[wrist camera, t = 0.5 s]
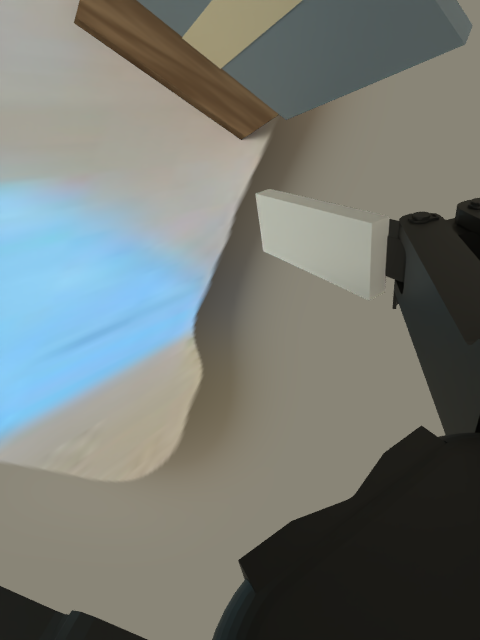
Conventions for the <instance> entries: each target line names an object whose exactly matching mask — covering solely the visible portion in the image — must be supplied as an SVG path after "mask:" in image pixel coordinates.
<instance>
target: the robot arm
mask: <svg viewBox="0 0 480 640" xmlns="http://www.w3.org/2000/svg"><path fill="white" fill-rule="evenodd" d="M256 201H257V208H258V215H259V222H260V230H261V237H262V245H263V251H264V252H266V253H269V254H271V255H273V256H275V257H277V258H279V259H281V260H283V261H286V262H288V263H290V264H292V265H294V266H296V267H298V268H301V269H303V270H305V271H307V272H309V273H311V274H313V275H316V276H318V277H320V278H322V279H324V280H326V281H328V282H331V283H333V284H335V285H337V286H339V287H341V288H344V289H346V290H348V291H350V292H352V293H354V294H356V295H358V296H361V297H363V298H365V299H367V300H371V299H373V298H375V297H377V296H379V295H381V294H383V293H385V283H386V282H385V281H386V276H388V277H390V278H393V279H395V284H394V297H393V309H396V305H397V304H399V305H400V308H401V311H402V314H403V316H404V320H405V322H406V325H407V328H408V331H409V334H410V336H411V339H412V342H413V345H414V348H415V350H416V353H417V356H418V359H419V362H420V364H421V367H422V370H423V373H424V376H425V378H426V381H427V384H428V386H429V390H430V392H431V395H432V398H433V400H434V404H435V406H436V409H437V412H438V415H439V418H440V420H441V423H442V426H443V429H444V431H445V434H446V435H445V436H440V437H437V436H435V435H434V434H433V433H431V432H430V431H428V430H427V429H426V428H424V427H423V426H420V427H419V428H417V429H416V430H415V431H413V432H412V433H411V434H409V435H408V436H407V437H406V438H404V439H403V440H401V441H400V442H398V443H397V444H396V445H394V446H393V447H392V448H390V449H389V450H388V451H386V452H385V453H384V454H383V455H382V457H381V458H380V459H379V461H378V462H377V464H376V465H375V467H374V468H373V470H372V471H371V472H370V474H369V475H368V477H367V478H366V479H365V481H364V482H363V484H362V485H361V487H360V488H359V489H358V491H357V492H356V494H355V495H354V496H353V497H351V498H350V499H348V500H346V501H343V502H341V503H338V504H335V505H333V506H330V507H327V508H325V509H322V510H319V511H317V512H314V513H312V514H309V515H307V516H304V517H301V518H298V519H296V520H293V521H291V522H290V523H289V524H287V525H286V526H284V527H283V528H282V529H280V530H279V531H277V532H276V533H275V534H273V535H272V536H271V537H269V538H268V539H267V540H265V541H264V542H262V543H261V544H260V545H259V546H257V547H256V548H254V549H253V550H252V551H250V552H249V553H247V554H246V555H245V556H243V557H242V558H241V559H239V564H240V567H241V569H242V572H243V576H244V578H245V580H244V582H243V583H242V585H241V586H240V587H239V588H238V590H237V591H236V592H235V594H234V595H233V597H232V599H231V601H230V602H229V604H228V606H227V607H226V609H225V611H224V613H223V615H222V617H221V619H220V622H219V624H218V626H217V628H216V630H215V633H214V636H213V639H212V640H480V198H475V199H472V200H467V201H464V202H461V203H459V204H458V205H457V210H456V217H455V218H453V219H449V220H445V219H444V218H443V217H441V216H440V215H438V214H436V213H428V212H416V213H414V214H408V215H405V216H402V217H401V218H400V219H399V221H396V220H392V219H389V218H390V217H389V216H387V215H383V214H378V213H374V212H370V211H365V210H360V209H356V208H352V207H347V206H342V205H339V204H334V203H330V202H325V201H320V200H316V199H312V198H307V197H303V196H299V195H294V194H290V193H285V192H281V191H276V190H272V189H268V190H265V191H262V192H259V193H256ZM0 640H147V639H145V638H142V637H140V636H138V635H136V634H133V633H131V632H129V631H126V630H124V629H121V628H119V627H117V626H115V625H112V624H110V623H108V622H105V621H103V620H101V619H98V618H96V617H93V616H91V615H88V614H85V613H83V612H79V611H71V613H70V614H69V615H67V614H63V613H60V612H58V611H55V610H53V609H51V608H48V607H46V606H44V605H42V604H39V603H37V602H35V601H33V600H30V599H28V598H26V597H24V596H21V595H19V594H17V593H15V592H12V591H10V590H8V589H6V588H3V587H1V586H0Z"/></svg>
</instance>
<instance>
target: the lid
mask: <svg viewBox="0 0 480 640" xmlns="http://www.w3.org/2000/svg"><path fill="white" fill-rule="evenodd" d="M137 1H138V2H139V3H141V4H142V5H143V6H144V7H146V8H147V9H148V10H149V11H151V12H152V13H153V14H154V15H155V16H157V17H158V18H159V19H160V20H162V21H163V22H164V23H165V24H167V25H168V26H169V27H170V28H172V29H173V30H174V31H175V32H177V33H178V34H179V35H180V36H182V39H184V40H185V41H186V42H187V43H189V44H190V45H191V46H192V47H194V48H195V49H196V50H197V51H199V52H200V53H201V54H202V55H204V56H205V57H206V58H207V59H209V60H210V61H211V62H212V63H214V64H215V65H216V66H217V67H219V68H220V69H221V68H222V69H223V70H224V71H225V72H227V73H228V74H229V75H230V76H232V77H233V78H234V79H235V80H237V81H238V82H239V83H240V84H242V85H243V86H244V87H245V88H247V89H248V90H249V91H250V92H252V93H253V94H254V95H255V96H257V97H258V98H259V99H260V100H262V101H263V102H264V103H265V104H267V105H268V106H269V107H270V108H272V109H273V110H274V111H275V112H277V113H278V114H279V115H280V116H282V117H283V118H284V119H285V120H287V119H289V118H292V117H294V116H296V115H299V114H302V113H304V112H306V111H308V110H311V109H313V108H316V107H318V106H320V105H323V104H325V103H327V102H330V101H332V100H335V99H337V98H339V97H342V96H344V95H346V94H349V93H351V92H353V91H356V90H358V89H361V88H363V87H365V86H368V85H370V84H373V83H375V82H377V81H380V80H382V79H384V78H387V77H389V76H391V75H394V74H396V73H399V72H401V71H403V70H406V69H408V68H410V67H413V66H415V65H417V64H419V63H422V62H425V61H427V60H429V59H432V58H434V57H436V56H439V55H441V54H444V53H446V52H448V51H451V50H453V49H455V48H458V47H460V46H463V45H465V43H466V41H467V39H468V36H469V33H470V31H471V28H472V24H471V22H470V21H469V19H468V18H467V16H466V14H465V13H464V11H463V10H462V8H461V7H460V5H459V3H458V2H457V0H137Z"/></svg>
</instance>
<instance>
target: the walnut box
mask: <svg viewBox="0 0 480 640" xmlns="http://www.w3.org/2000/svg"><path fill="white" fill-rule="evenodd" d="M74 23H75V24H76V25H78V26H79V27H81V28H82V29H84V30H85V31H86V32H88V33H89V34H91V35H92V36H94V37H95V38H96V39H98V40H99V41H101V42H102V43H104V44H105V45H106V46H108V47H109V48H111V49H112V50H114V51H115V52H116V53H118V54H119V55H121V56H122V57H124V58H125V59H126V60H128V61H129V62H131V63H132V64H134V65H135V66H136V67H138V68H139V69H141V70H142V71H144V72H145V73H146V74H148V75H149V76H151V77H152V78H154V79H155V80H156V81H158V82H159V83H161V84H162V85H164V86H165V87H166V88H168V89H169V90H171V91H172V92H174V93H175V94H177V95H178V96H179V97H181V98H182V99H184V100H185V101H187V102H188V103H189V104H191V105H192V106H194V107H195V108H197V109H198V110H199V111H201V112H202V113H204V114H205V115H207V116H208V117H209V118H211V119H212V120H214V121H215V122H217V123H218V124H219V125H221V126H222V127H224V128H225V129H227V130H228V131H229V132H231V133H232V134H234V135H235V136H237V137H238V138H239V139H241V140H242V139H243V138H245V137H246V136H248V135H249V134H251V133H252V132H254V131H255V130H257V129H258V128H260V127H261V126H263V125H264V124H266V123H267V122H269V121H270V120H272V119H273V118H275V117H276V116H278V115H279V114H278V113H277V112H275V111H274V110H273V109H272V108H270V107H269V106H268V105H267V104H265V103H264V102H263V101H262V100H260V99H259V98H258V97H257V96H255V95H254V94H253V93H252V92H250V91H249V90H248V89H247V88H245V87H244V86H243V85H242V84H240V83H239V82H238V81H237V80H235V79H234V78H233V77H232V76H230V75H229V74H228V73H227V72H225V71H224V70H223V69H222V68H221V69H220V68H219V67H217V66H216V65H215V64H214V63H212V62H211V61H210V60H209V59H207V58H206V57H205V56H204V55H202V54H201V53H200V52H199V51H197V50H196V49H195V48H194V47H192V46H191V45H190V44H189V43H187V42H186V41H185V40H184V39H182V36H180V35H179V34H178V33H177V32H175V31H174V30H173V29H172V28H170V27H169V26H168V25H167V24H165V23H164V22H163V21H162V20H160V19H159V18H158V17H157V16H155V15H154V14H153V13H152V12H151V11H149V10H148V9H147V8H146V7H144V6H143V5H142V4H141V3H139V2H138V1H137V0H80V1H79V5H78V9H77V13H76V17H75V21H74Z"/></svg>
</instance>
